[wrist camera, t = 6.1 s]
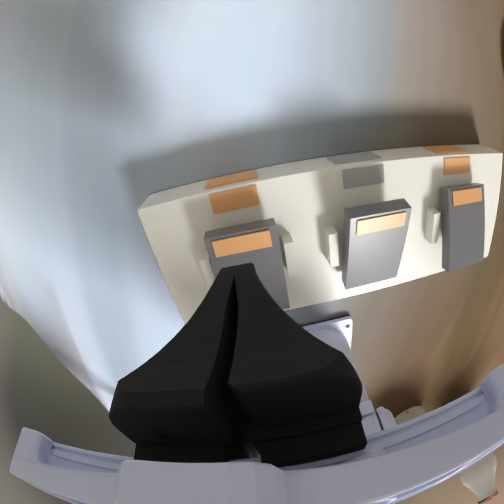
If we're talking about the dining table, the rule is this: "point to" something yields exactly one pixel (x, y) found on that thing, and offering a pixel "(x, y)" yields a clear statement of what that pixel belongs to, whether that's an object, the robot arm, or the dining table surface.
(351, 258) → the rocker
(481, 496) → the fruit juice
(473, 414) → the robot arm
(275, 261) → the rocker
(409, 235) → the switch panel
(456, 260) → the rocker
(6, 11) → the dining table surface
